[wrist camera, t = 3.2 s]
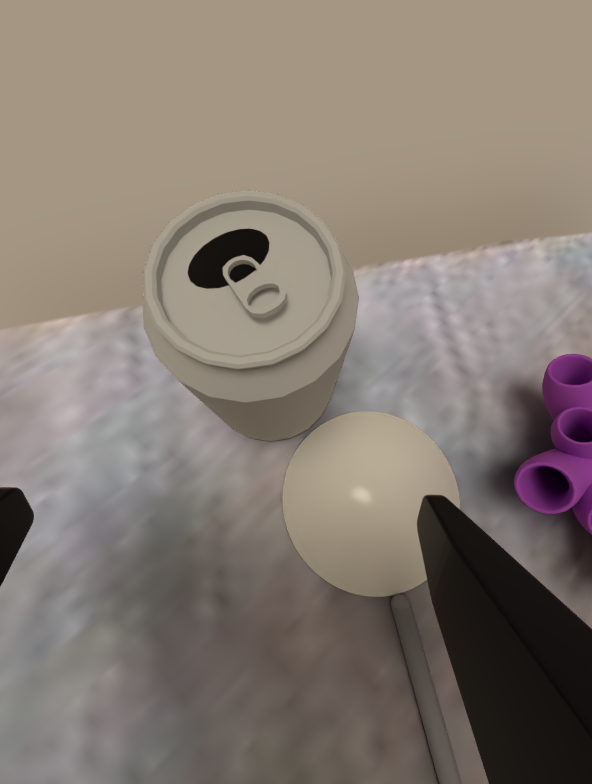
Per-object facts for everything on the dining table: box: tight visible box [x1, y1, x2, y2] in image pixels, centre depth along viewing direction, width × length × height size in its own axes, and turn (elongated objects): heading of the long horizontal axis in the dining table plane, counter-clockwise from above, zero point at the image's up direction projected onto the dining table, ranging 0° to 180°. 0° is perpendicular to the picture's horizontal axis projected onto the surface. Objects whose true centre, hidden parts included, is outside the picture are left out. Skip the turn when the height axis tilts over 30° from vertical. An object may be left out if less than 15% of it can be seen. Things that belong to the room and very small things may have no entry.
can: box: [143, 190, 359, 441], centre depth 16 cm, size 8×8×12 cm
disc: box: [282, 411, 460, 597], centre depth 20 cm, size 10×10×1 cm
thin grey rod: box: [391, 594, 462, 784], centre depth 17 cm, size 11×1×1 cm, turn 13°
